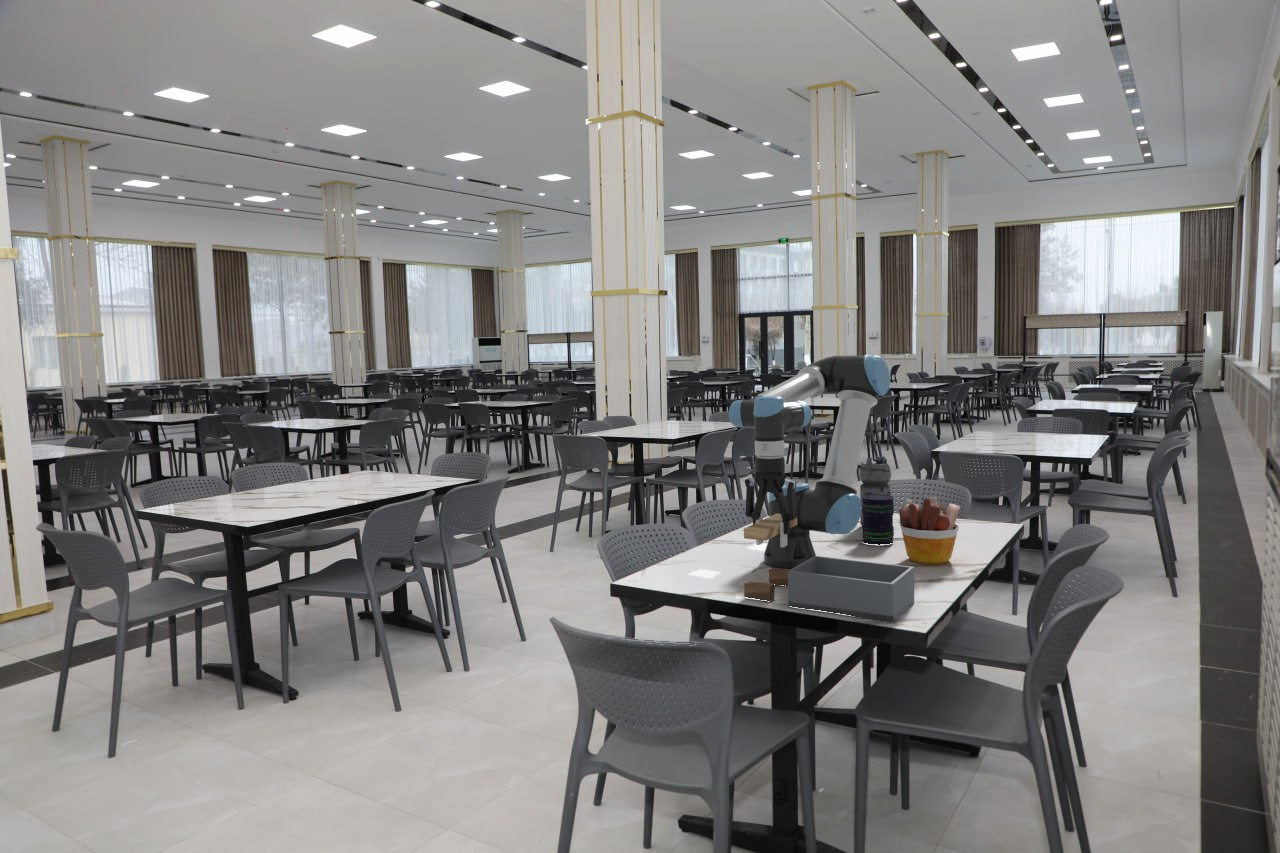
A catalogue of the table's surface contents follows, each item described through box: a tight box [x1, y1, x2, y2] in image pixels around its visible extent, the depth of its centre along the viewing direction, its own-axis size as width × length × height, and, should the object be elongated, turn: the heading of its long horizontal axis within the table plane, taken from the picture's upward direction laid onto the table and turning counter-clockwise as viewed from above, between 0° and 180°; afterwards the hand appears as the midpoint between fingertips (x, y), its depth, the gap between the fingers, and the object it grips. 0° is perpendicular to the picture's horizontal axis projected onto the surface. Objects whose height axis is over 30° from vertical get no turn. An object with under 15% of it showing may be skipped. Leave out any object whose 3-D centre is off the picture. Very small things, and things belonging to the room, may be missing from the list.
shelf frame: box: [787, 555, 915, 623], centre depth 210 cm, size 26×18×9 cm
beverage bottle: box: [859, 455, 892, 527], centre depth 300 cm, size 10×13×25 cm
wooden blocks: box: [743, 566, 791, 602], centre depth 224 cm, size 18×7×4 cm, turn 147°
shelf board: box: [743, 514, 797, 542], centre depth 223 cm, size 20×6×2 cm, turn 147°
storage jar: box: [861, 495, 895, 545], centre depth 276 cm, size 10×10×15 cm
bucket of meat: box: [898, 496, 961, 565], centre depth 252 cm, size 20×16×20 cm
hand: (771, 544), depth 224 cm, fingers closed on shelf board, 6 cm apart
